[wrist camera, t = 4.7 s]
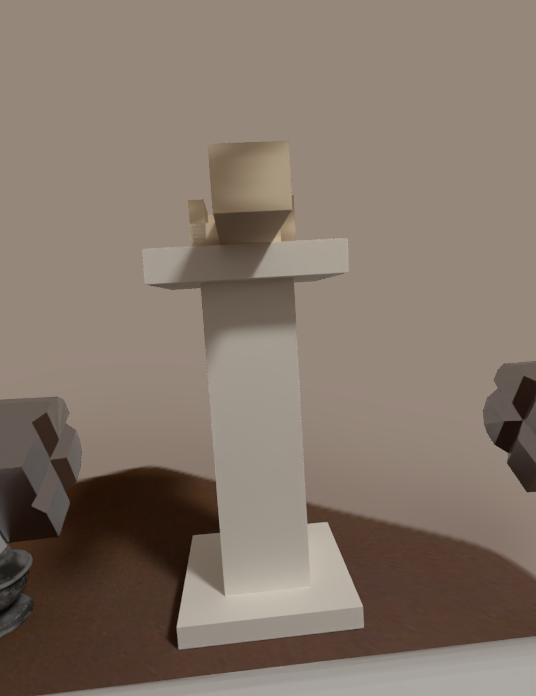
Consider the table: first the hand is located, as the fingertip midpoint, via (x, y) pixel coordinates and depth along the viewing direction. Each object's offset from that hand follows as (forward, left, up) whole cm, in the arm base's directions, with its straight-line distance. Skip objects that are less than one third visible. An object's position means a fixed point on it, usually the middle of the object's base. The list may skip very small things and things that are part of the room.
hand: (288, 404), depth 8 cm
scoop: (0, +18, +5) cm, 19 cm away
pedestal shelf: (0, +23, -20) cm, 30 cm away
